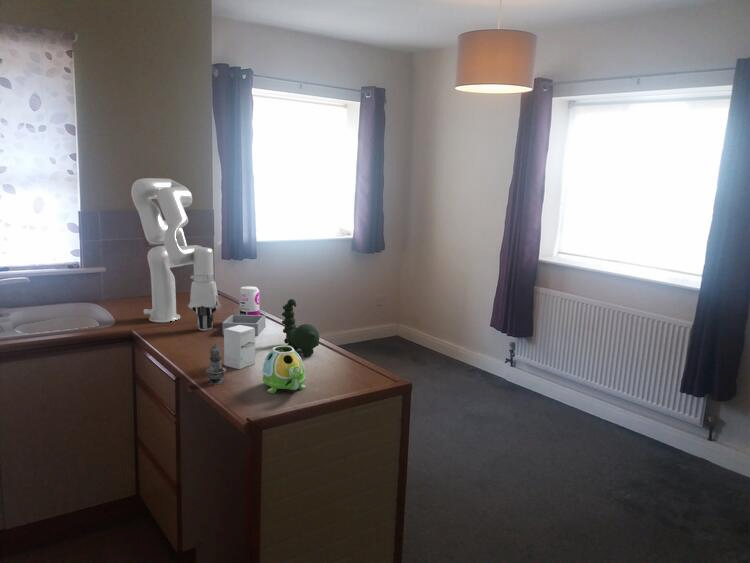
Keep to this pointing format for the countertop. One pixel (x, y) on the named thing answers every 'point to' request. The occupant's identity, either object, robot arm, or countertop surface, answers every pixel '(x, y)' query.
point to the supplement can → (249, 300)
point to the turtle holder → (283, 369)
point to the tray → (245, 322)
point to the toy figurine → (299, 332)
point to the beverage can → (204, 318)
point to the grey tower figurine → (215, 367)
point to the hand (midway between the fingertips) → (205, 322)
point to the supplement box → (239, 346)
